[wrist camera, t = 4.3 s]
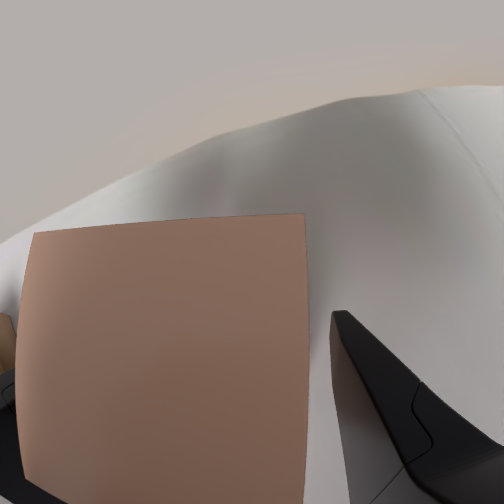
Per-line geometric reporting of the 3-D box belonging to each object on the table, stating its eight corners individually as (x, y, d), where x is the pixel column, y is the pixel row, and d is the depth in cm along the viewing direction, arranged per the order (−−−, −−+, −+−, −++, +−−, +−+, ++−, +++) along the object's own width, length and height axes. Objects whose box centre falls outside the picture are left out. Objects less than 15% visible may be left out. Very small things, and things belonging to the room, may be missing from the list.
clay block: (294, 404, 13) (297, 556, 2) (214, 402, 14) (25, 478, 2) (295, 325, 14) (304, 213, 3) (216, 325, 15) (34, 232, 4)
